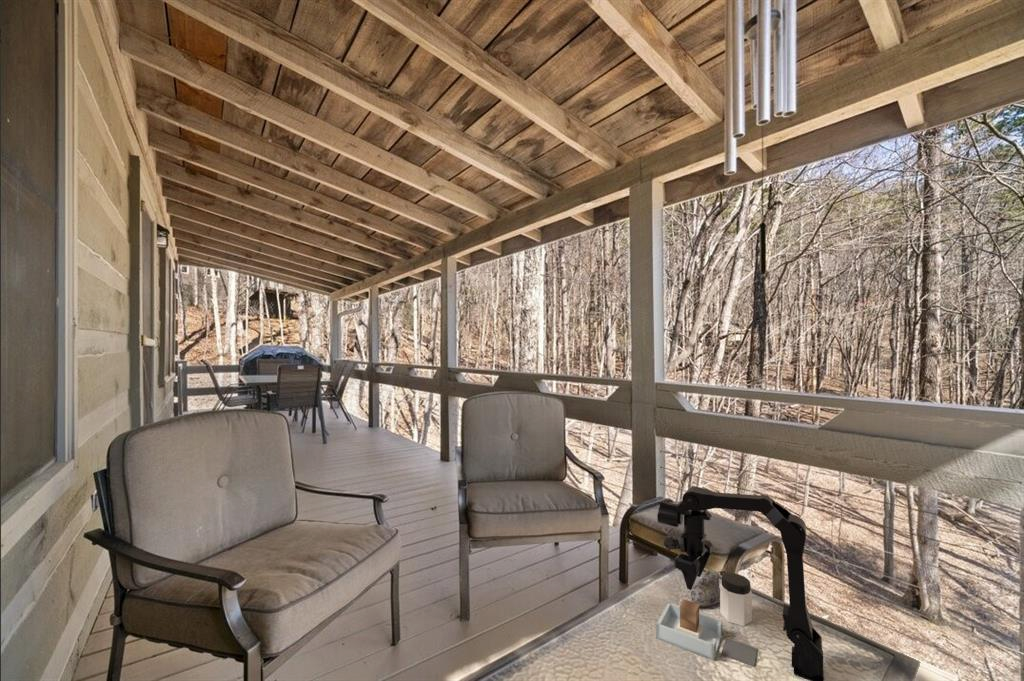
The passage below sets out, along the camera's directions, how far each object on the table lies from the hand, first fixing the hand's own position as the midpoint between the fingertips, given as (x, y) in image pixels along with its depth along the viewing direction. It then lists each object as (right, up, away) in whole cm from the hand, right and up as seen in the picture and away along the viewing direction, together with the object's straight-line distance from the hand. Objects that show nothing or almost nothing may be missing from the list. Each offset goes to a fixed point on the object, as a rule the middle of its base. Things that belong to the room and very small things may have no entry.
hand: (694, 582), depth 129 cm
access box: (-2, -15, -2) cm, 15 cm away
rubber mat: (+9, -15, -9) cm, 19 cm away
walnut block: (-2, -12, -2) cm, 12 cm away
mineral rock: (+10, -15, +16) cm, 24 cm away
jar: (+16, -15, +7) cm, 23 cm away
